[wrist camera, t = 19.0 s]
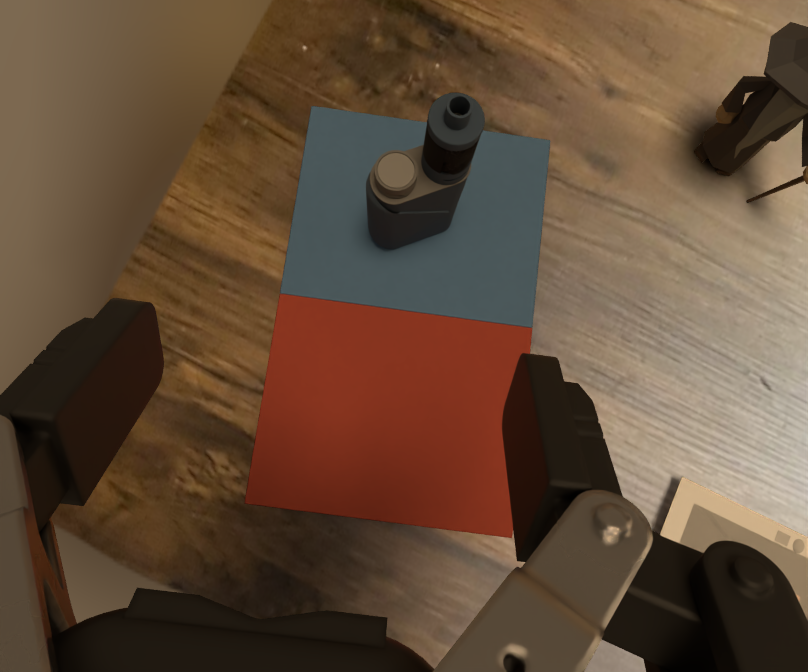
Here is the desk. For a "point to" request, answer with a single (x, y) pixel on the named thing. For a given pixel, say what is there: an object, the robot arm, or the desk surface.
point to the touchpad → (736, 532)
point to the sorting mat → (399, 337)
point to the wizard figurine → (763, 108)
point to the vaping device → (424, 175)
